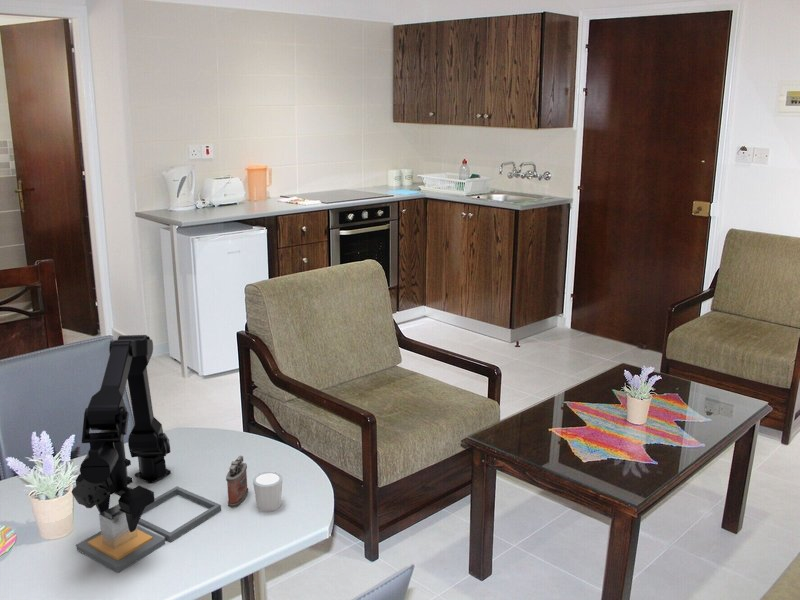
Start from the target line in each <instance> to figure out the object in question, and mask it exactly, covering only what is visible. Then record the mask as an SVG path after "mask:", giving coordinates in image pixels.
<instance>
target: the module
mask: <svg viewBox="0 0 800 600" xmlns="http://www.w3.org/2000/svg"><path fill="white" fill-rule="evenodd" d="M119 509H121V508H120V506H119V503H118V504H116V505H114V506H112V507H109V509H108V510H106V511H104V512H102V513H99V514H98V518H99V525H100V531H101V535H102V543H103V544H105V545H107V546H109V547H111V548H113V549H116V548H118V547H119V546H121V545H123V544H125V543H126V542H128V541H130V540H131V539H133V538H135V537H136V536H138V531H137V527H136V529H135V531H133V532H130V531H129V528H128V523H127V519H126V514H125V513H124V512H122V511H120V510H119Z"/></svg>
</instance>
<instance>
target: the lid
mask: <svg viewBox="0 0 800 600" xmlns="http://www.w3.org/2000/svg"><path fill="white" fill-rule="evenodd" d="M137 531H138V536H136V537H135V538H133V539H131V540H130V541H128V542H126V543H125V544H123V545H121V546H119V547H118V548H116V549H113V548H111V547H109V546H107V545H105V544H103V543H102V535H101V530H99V531H98V532H97V533H95V534H92V535H91V536H89V537H87V538H86V539H84V540H82V541H80V542H78V543H77V544H75V548H76V549H77V550H76V549H75V550H76V551H78V550H79V551H78V552H80V551H81V552H80V553H82V552H83V553H84V555H85V554H86V556H87V555H88V557H89V556H90V557H89V558H91V559H93V560H94V559H95V560H94V561H97V563H100V564H102V565H104V566H105V567H106V568H109V569H111V570H113V571H114V572H116V573H120V572H122V571H124V570H125V569H127V568H128V567H130V566H132V565H133V564H135V563H136V562H138V561H140V560H141V559H143V558H144V557H146V556H147V555H149V554H151V553H153V552H154V551H156V550H157V549H159V548H161V547H162V546H165V545H166V540H165V539H166V537H164V536H162V535H160V534H158V533H156V532H154V531H152V530H150V529H148V528H146V527H144V526H141V525H139V524H137ZM83 553H82V554H83Z"/></svg>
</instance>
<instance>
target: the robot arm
mask: <svg viewBox="0 0 800 600" xmlns="http://www.w3.org/2000/svg"><path fill="white" fill-rule="evenodd" d="M108 351H109V356H108V360H107V363H106V367H105V371H104V375H103V377H102V378H103V379H102V383H101V385H100V388H99V390H98V391H97V392H96V393H95V394H94V395H92V396H91V398H90V400H89V403H88V406H87V407H86V408H85V410H84V413H83V424H82V435H81V444H89V450H88V451H87V454H86V456H85V457H84V459H83V460H82V462H81V464H80V467H79V473H80V474H78V475H77V477H76V478H75V487H73V488H72V490H71V494H72V496H73V497H74V498H75V501H76V502H77V504H79V505H81V506H84V507H85V508H87V509H91V508H94V507H96V508H97V511H98V512H99V514H100V513H102V512H104V511H106V510H108V509H110V503H111V495H113V494H114V495H117V496H118V497H119V498H118V504H119V506H120V508H121V509H119V510H120V511H122V512H124V513H125V514H126V519H127V523H128V528H129V531H130V532H133V531H135V529H136V527H137V524H138V522H139V520H140V518H141V517H142V515H143V514H142V513H143V511H144V509H145V507H146V506H147V505H149V504H151V503H153V502H154V500H155V492H154V491H153V490H150V489H148V488H147V487H144V486H142V485H137V486H135V487H133V488H131V487H129V486H128V485H130V484H132V483H133V478H132V477H131V476H128V468H127V467H129V466H131V464H132V463H131V462H132V461H131V459H128V458H127V457H126V449H125V441H124V440H125V439H124V438H125V436H127V433H128V425H129V418H130V414H129V411H128V408H127V407H126V403H125V400H124V394H125V391H126V386H127V384H128V392H129V397H130V405H131V409H132V416H133V425H132V427H131V430H130V432H129V435H128V438H127V441H128V442H127V443H128V444H127V445H128V450H129V453H130V457H131V458H137V460H138V461H137V462H138V468H139V471H138V472H136V473H134V477H135V478H137V479H140V480H143V481H145V482H147V483H149V484H153V483H155V482H156V481H158V480H160V479H162V478H164V477H166V476H167V475H169V474H171V473H172V471H171V470H170V469H168V468H167V467H166V460H165V457H166V456H167V455H168V454H171V451H172V450H171V443H170V439H169V436H167V434H166V433H165V432H164V429H163V424H162V423H161V422H160V421H159V420H158V419H156V417H155V416H154V411H153V410H154V409H153V404H152V396H151V390H150V388H151V387H150V382H149V375H148V369H147V368H148V365H149V363H150V360H151V357H152V355H153V352H154V342H153V339H151V337H150V336H148V335H147V334H134V335H133V334H132V335H127V334H126V335H122V334H121V335H118V337H117V339H114V340H113V339H112V340H110V341H109V350H108ZM90 431H99V432H90Z"/></svg>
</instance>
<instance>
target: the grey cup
mask: <svg viewBox="0 0 800 600" xmlns="http://www.w3.org/2000/svg"><path fill="white" fill-rule="evenodd" d="M252 484H253V490H254V495H255V503H256V508H257V509H258V511H261V512H267V513H268V512H273V511H276V510H278V509H280V508H281V506H282V491H283V476H282V475H281V474H280V473H278V472H274V471H264V472H261V473H258V474H257V475H255V476H254V477H253V478H252Z"/></svg>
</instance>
